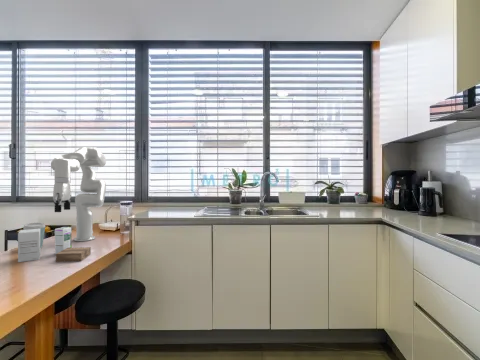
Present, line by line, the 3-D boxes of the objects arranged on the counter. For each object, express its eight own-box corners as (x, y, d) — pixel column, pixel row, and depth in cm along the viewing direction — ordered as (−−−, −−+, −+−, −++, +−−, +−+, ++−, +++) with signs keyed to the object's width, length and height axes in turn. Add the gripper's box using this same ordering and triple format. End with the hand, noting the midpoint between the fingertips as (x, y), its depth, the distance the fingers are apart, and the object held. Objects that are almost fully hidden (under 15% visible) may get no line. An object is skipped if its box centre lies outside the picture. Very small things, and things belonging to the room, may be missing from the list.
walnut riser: (67, 254, 149) (67, 247, 149) (90, 254, 151) (90, 247, 151) (55, 261, 137) (56, 254, 137) (81, 261, 139) (81, 253, 139)
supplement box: (19, 257, 143) (19, 229, 143) (40, 255, 148) (40, 228, 148) (17, 262, 135) (17, 233, 135) (39, 259, 140) (39, 231, 140)
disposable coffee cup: (49, 247, 163) (49, 223, 163) (29, 252, 153) (29, 226, 153) (39, 245, 167) (39, 221, 167) (19, 249, 158) (19, 224, 157)
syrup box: (63, 254, 149) (63, 228, 149) (54, 254, 150) (54, 228, 150) (71, 252, 155) (71, 227, 155) (63, 251, 156) (63, 226, 156)
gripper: (63, 180, 159) (63, 208, 160) (46, 181, 142) (46, 213, 142) (77, 180, 160) (77, 208, 161) (61, 181, 143) (61, 213, 143)
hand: (62, 210), depth 151 cm, fingers open, 9 cm apart
